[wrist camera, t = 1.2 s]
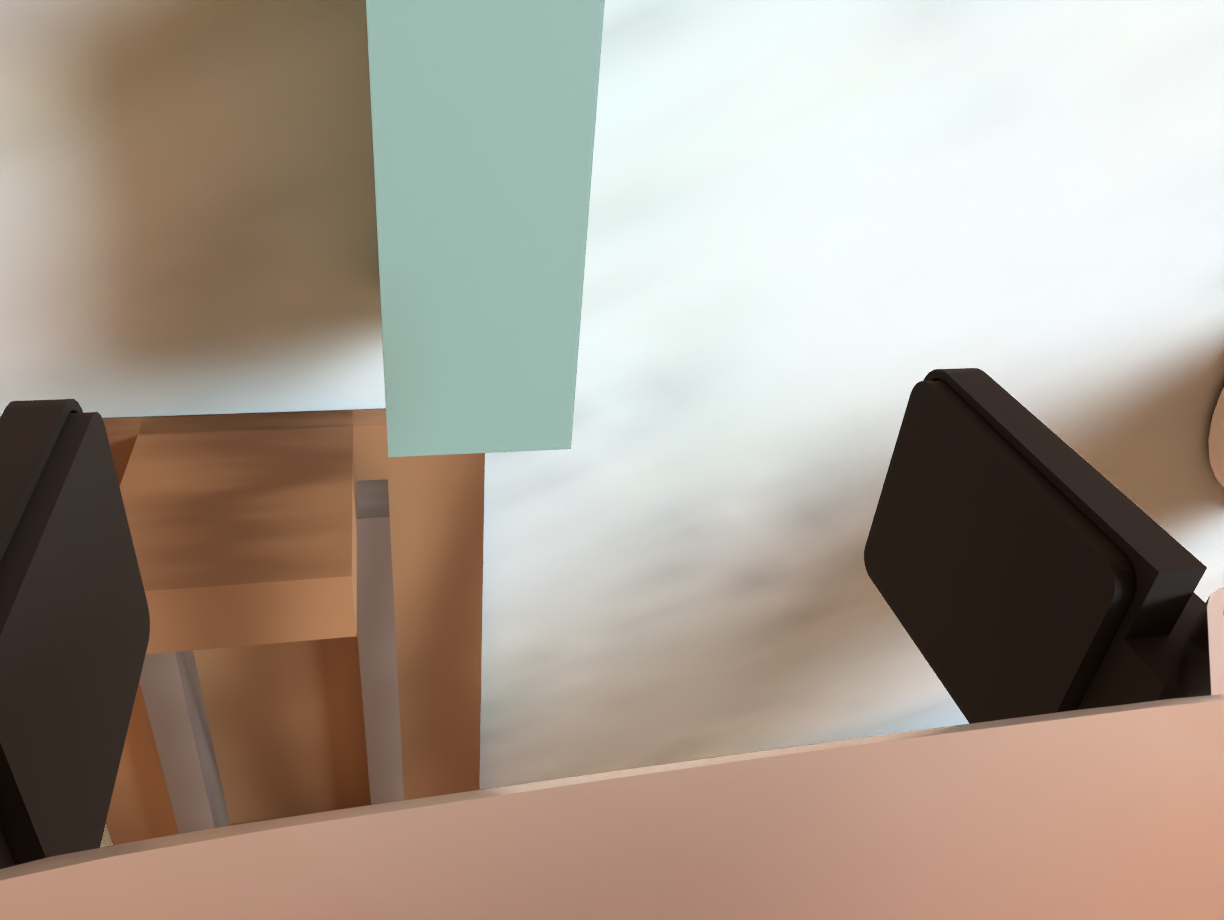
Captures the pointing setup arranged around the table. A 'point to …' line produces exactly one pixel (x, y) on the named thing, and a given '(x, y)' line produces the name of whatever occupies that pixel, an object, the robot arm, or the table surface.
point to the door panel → (482, 216)
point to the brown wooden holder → (297, 619)
